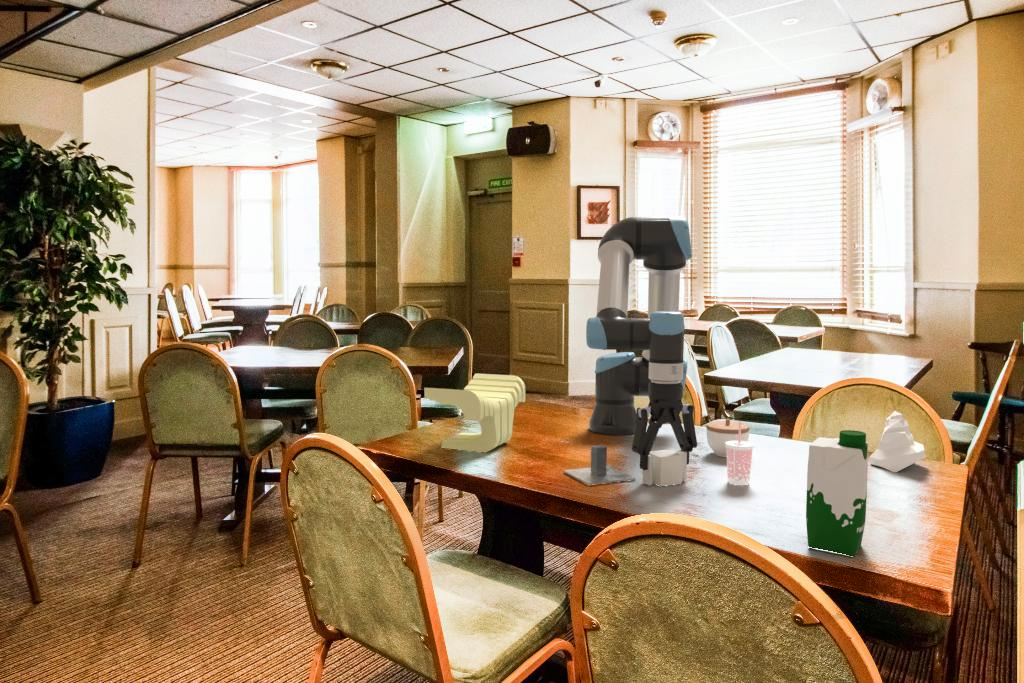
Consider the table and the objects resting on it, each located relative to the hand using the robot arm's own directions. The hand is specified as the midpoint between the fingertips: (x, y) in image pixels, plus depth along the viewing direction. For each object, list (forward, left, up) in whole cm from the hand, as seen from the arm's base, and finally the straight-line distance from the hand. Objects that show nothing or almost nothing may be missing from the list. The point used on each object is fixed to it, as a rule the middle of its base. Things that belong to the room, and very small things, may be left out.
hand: (664, 481), depth 161 cm
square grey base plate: (+11, -10, 0) cm, 15 cm away
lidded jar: (-30, -15, -1) cm, 34 cm away
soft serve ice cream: (-60, +11, -1) cm, 61 cm away
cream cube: (0, 0, 0) cm, 0 cm away
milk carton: (-4, +44, -1) cm, 44 cm away
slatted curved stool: (+26, -50, -1) cm, 57 cm away
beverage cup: (-15, +7, -1) cm, 16 cm away
